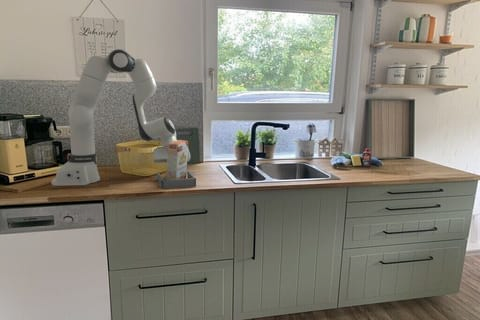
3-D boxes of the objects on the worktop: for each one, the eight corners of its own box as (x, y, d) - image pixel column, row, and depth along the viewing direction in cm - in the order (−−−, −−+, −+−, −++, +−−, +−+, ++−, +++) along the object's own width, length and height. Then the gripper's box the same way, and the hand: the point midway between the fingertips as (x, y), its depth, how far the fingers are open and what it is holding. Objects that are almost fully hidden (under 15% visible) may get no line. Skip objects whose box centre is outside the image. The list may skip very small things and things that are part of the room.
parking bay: (161, 188, 166) (161, 180, 165) (157, 179, 181) (157, 172, 181) (196, 186, 172) (196, 178, 171) (189, 177, 187) (189, 170, 186)
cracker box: (176, 185, 172) (178, 144, 168) (165, 183, 173) (166, 143, 169) (187, 178, 186) (188, 140, 181) (176, 176, 187) (178, 139, 182)
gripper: (151, 144, 185) (153, 165, 178) (188, 142, 191) (192, 163, 185) (150, 150, 190) (153, 172, 183) (187, 149, 197) (191, 169, 190)
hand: (173, 167), depth 184 cm, fingers closed
